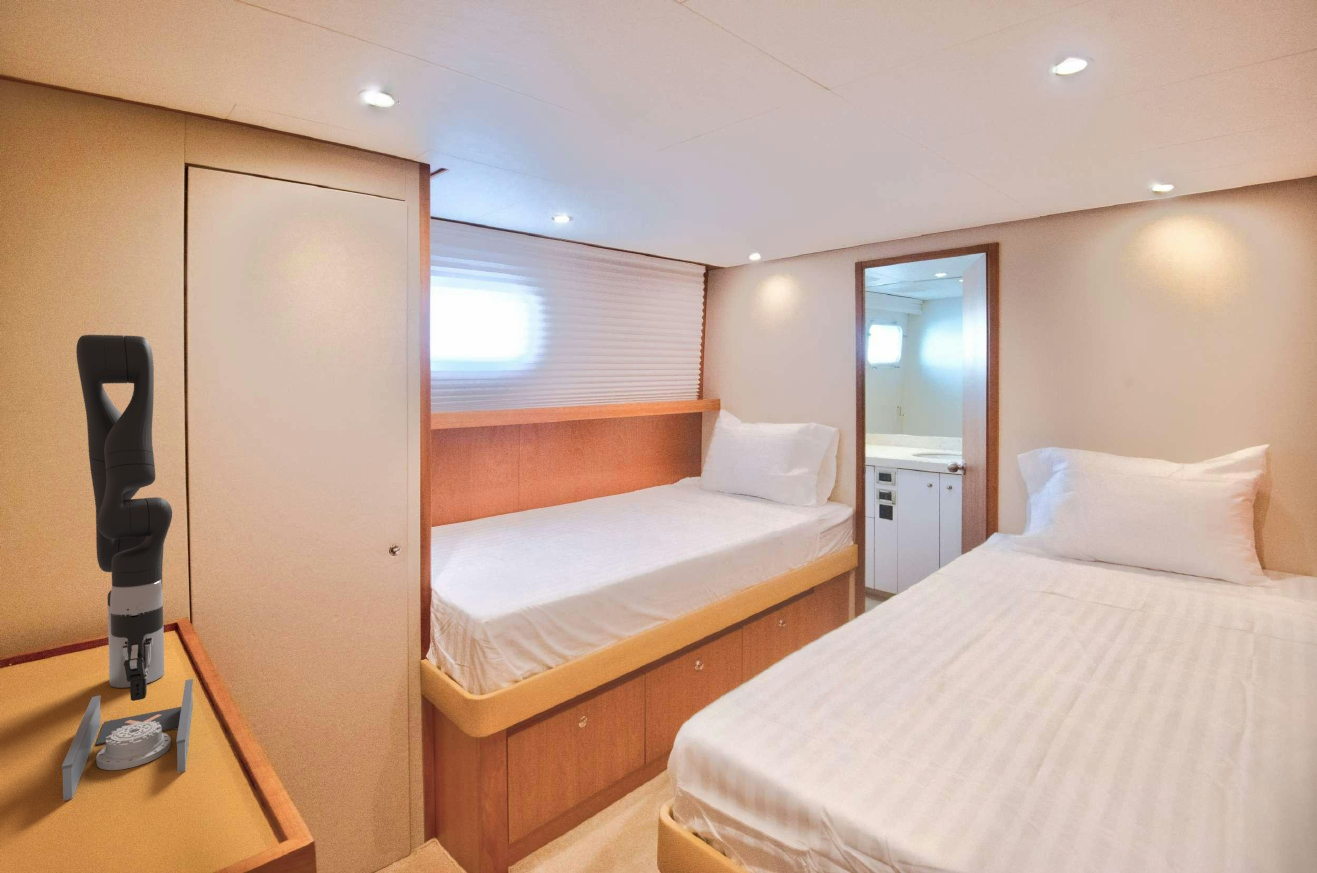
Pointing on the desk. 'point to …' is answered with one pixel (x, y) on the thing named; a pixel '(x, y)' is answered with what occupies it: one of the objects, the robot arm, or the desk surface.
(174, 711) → the pad
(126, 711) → the desk surface
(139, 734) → the mechanical component
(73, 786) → the plastic channel
